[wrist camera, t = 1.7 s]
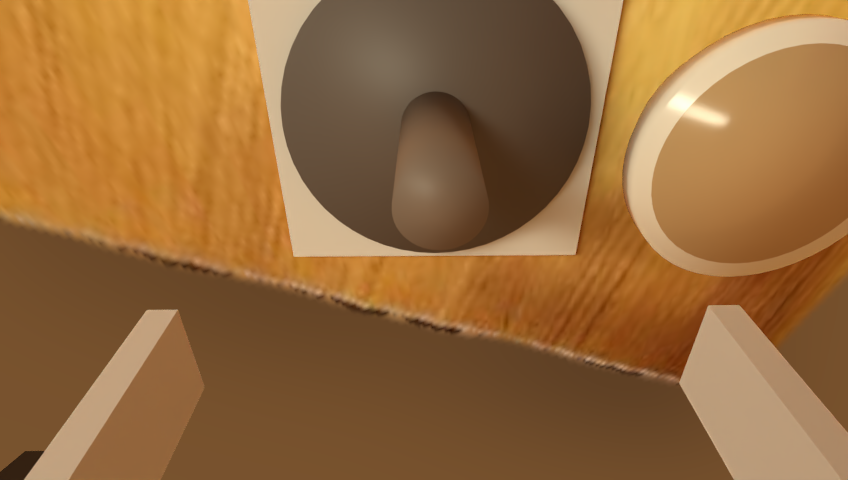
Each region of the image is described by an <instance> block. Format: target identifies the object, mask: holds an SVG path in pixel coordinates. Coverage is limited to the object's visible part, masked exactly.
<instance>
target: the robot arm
mask: <svg viewBox="0 0 848 480" xmlns="http://www.w3.org/2000/svg"><path fill="white" fill-rule="evenodd" d="M679 384H680V386H681V387H682V389H683V391H684V393H685V394H686V396H687V398H688V399H689V401H690V403H691V405H692V407H693V408H694V410H695V412H696V414H697V415H698V417H699V419H700V421H701V422H702V424H703V426H704V428H705V430H706V431H707V433H708V435H709V437H710V438H711V440H712V442H713V444H714V445H715V447H716V449H717V451H718V452H719V454H720V456H721V457H722V459H723V461H724V463H725V465H726V466H727V468H728V470H729V472H730V473H731V475H732V477H733V479H734V480H848V432H847V431H846V430H845V429H844V428H843V427H842V425H841V424H840V423H839V422H838V421H837V420H836V418H835V417H834V416H833V415H832V414H831V412H830V411H829V410H828V409H827V408H826V407H825V406H824V404H823V403H822V402H821V401H820V399H819V398H818V397H817V396H816V395H815V394H814V393H813V391H812V390H811V389H810V388H809V387H808V386H807V384H806V383H805V382H804V381H803V379H802V378H801V377H800V376H799V375H798V374H797V372H796V371H795V370H794V369H793V368H792V366H791V365H790V364H789V363H788V362H787V361H786V359H785V358H784V357H783V356H782V355H781V354H780V352H779V351H778V350H777V349H776V348H775V346H774V345H773V344H772V343H771V342H770V341H769V339H768V338H767V337H766V336H765V335H764V333H763V332H762V331H761V330H760V329H759V328H758V326H757V325H756V324H755V323H754V322H753V321H752V319H751V318H750V317H749V316H748V315H747V313H746V312H745V311H744V310H743V309H742V308H741V306H740V305H708V308H707V310H706V313H705V316H704V318H703V321H702V324H701V326H700V329H699V332H698V334H697V337H696V340H695V342H694V345H693V348H692V350H691V353H690V355H689V358H688V361H687V363H686V366H685V369H684V371H683V374H682V377H681V379H680V382H679ZM203 389H204V384H203V381H202V378H201V375H200V373H199V370H198V367H197V364H196V361H195V358H194V355H193V352H192V349H191V346H190V344H189V341H188V338H187V335H186V332H185V329H184V327H183V324H182V320H181V318H180V315H179V312H178V310H147V311H146V312H145V314H144V315H143V316H142V318H141V319H140V320H139V322H138V323H137V325H136V326H135V327H134V329H133V330H132V331H131V333H130V334H129V335H128V337H127V338H126V340H125V341H124V342H123V344H122V345H121V347H120V348H119V349H118V351H117V352H116V353H115V355H114V356H113V358H112V359H111V360H110V362H109V363H108V364H107V366H106V367H105V369H104V370H103V371H102V373H101V374H100V376H99V377H98V378H97V380H96V381H95V383H94V384H93V385H92V387H91V388H90V389H89V391H88V392H87V394H86V395H85V396H84V398H83V399H82V400H81V402H80V403H79V405H78V406H77V407H76V409H75V410H74V411H73V413H72V414H71V416H70V417H69V418H68V420H67V421H66V422H65V424H64V425H63V427H62V428H61V430H60V431H59V432H58V434H57V435H56V436H55V438H54V439H53V440H52V442H51V443H50V445H49V446H48V447H47V449H46V450H45V451H25V452H24V453H23V454H21V455H20V456H19V457H18V458H17V459H15V460H14V461H13V462H12V463H10V464H9V465H8V466H7V467H6V468H4V469H3V470H2V471H1V472H0V480H160V479H161V477H162V476H163V473H164V471H165V469H166V467H167V465H168V463H169V461H170V459H171V457H172V455H173V452H174V450H175V448H176V446H177V444H178V442H179V440H180V438H181V436H182V433H183V431H184V429H185V427H186V425H187V423H188V421H189V419H190V417H191V415H192V412H193V410H194V408H195V406H196V404H197V402H198V400H199V398H200V396H201V394H202V391H203Z"/></svg>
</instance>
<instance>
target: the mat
mask: <svg viewBox="0 0 848 480" xmlns="http://www.w3.org/2000/svg"><path fill="white" fill-rule="evenodd" d="M320 1H321V0H248V3H249V9H250V14H251V20H252V26H253V31H254V37H255V42H256V48H257V53H258V59H259V65H260V70H261V76H262V81H263V87H264V93H265V98H266V104H267V109H268V115H269V121H270V126H271V132H272V137H273V143H274V148H275V154H276V160H277V165H278V171H279V176H280V182H281V188H282V193H283V199H284V204H285V210H286V216H287V221H288V227H289V232H290V238H291V244H292V249H293V255H294V257H304V256H479V255H576V250H577V244H578V239H579V234H580V228H581V223H582V218H583V212H584V207H585V202H586V196H587V191H588V186H589V180H590V175H591V170H592V165H593V159H594V154H595V149H596V143H597V138H598V133H599V127H600V122H601V117H602V111H603V106H604V101H605V95H606V90H607V85H608V80H609V74H610V69H611V64H612V58H613V53H614V48H615V42H616V37H617V32H618V26H619V21H620V16H621V10H622V5H623V0H553V1H554V2H555V3H556V4H557V5H558V6H559V7H560V9H561V10H562V12H563V13H564V15H565V16H566V18H567V19H568V21H569V22H570V23H571V25H572V27H573V29H574V31H575V33H576V35H577V37H578V39H579V42H580V44H581V46H582V50H583V53H584V56H585V59H586V62H587V66H588V72H589V79H590V85H591V111H590V120H589V127H588V131H587V135H586V139H585V143H584V146H583V149H582V151H581V154H580V156H579V159H578V162H577V164H576V165H575V167H574V169H573V171H572V173H571V175H570V177H569V178H568V180H567V181H566V183H565V184H564V186H563V187H562V188H561V190H560V191H559V193H558V194H557V195H556V196H555V197H554V198H553V200H552V201H551V202H550V203H549V204H548V205H547V206H546V207H545V208H544V209H543V210H542V211H541V212H540V213H539V214H537V215H536V216H535V217H534V218H533V219H532V220H530V221H529V222H527V223H526V224H524V225H523V226H522V227H520V228H519V229H517V230H515V231H514V232H512V233H510V234H508V235H506V236H504V237H503V238H500V239H498V240H495V241H493V242H490V243H488V244H485V245H482V246H478V247H475V248H471V249H467V250H461V251H455V252H445V253H422V252H413V251H407V250H400V249H397V248H393V247H389V246H386V245H383V244H380V243H378V242H375V241H373V240H370V239H368V238H366V237H364V236H362V235H360V234H358V233H356V232H355V231H353V230H351V229H350V228H348V227H347V226H345V225H344V224H343V223H341V222H340V221H338V220H337V219H336V218H335V217H334V216H333V215H331V214H330V213H329V212H328V211H327V210H326V209H325V208H324V207H323V206H322V205H321V204H320V203H319V202H318V201H317V199H316V198H315V197H314V196H313V195H312V193H311V192H310V191H309V189H308V188H307V186H306V185H305V183H304V182H303V181H302V179H301V177H300V175H299V173H298V171H297V169H296V167H295V166H294V164H293V161H292V158H291V156H290V153H289V150H288V148H287V144H286V140H285V136H284V131H283V127H282V117H281V86H282V80H283V75H284V69H285V65H286V62H287V59H288V56H289V53H290V49H291V46H292V44H293V42H294V40H295V38H296V36H297V34H298V32H299V30H300V28H301V26H302V25H303V23H304V22H305V20H306V19H307V17H308V16H309V14H310V13H311V12H312V10H313V9H314V7H315V6H316V5H317V4H318V3H319V2H320Z"/></svg>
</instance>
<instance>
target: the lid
mask: <svg viewBox="0 0 848 480" xmlns="http://www.w3.org/2000/svg"><path fill="white" fill-rule="evenodd" d="M590 111H591V85H590V79H589V72H588V66H587V62H586V59H585V56H584V53H583V50H582V46H581V44H580V42H579V39H578V37H577V35H576V33H575V31H574V29H573V27H572V25H571V23H570V22H569V21H568V19H567V18H566V16H565V15H564V13H563V12H562V10H561V9H560V7H559V6H558V5H557V4H556V3H555V2H554V1H553V0H321V1H320V2H319V3H318V4H317V5H316V6H315V7H314V9H313V10H312V12H311V13H310V14H309V16H308V17H307V19H306V20H305V22H304V23H303V25H302V26H301V28H300V30H299V32H298V34H297V36H296V38H295V40H294V42H293V44H292V46H291V49H290V53H289V56H288V59H287V62H286V65H285V69H284V75H283V80H282V86H281V117H282V127H283V131H284V136H285V140H286V144H287V148H288V150H289V153H290V156H291V158H292V161H293V164H294V166H295V167H296V169H297V171H298V173H299V175H300V177H301V179H302V181H303V182H304V183H305V185H306V186H307V188H308V189H309V191H310V192H311V193H312V195H313V196H314V197H315V198H316V199H317V201H318V202H319V203H320V204H321V205H322V206H323V207H324V208H325V209H326V210H327V211H328V212H329V213H330V214H331V215H333V216H334V217H335V218H336V219H337V220H338V221H340V222H341V223H343V224H344V225H345V226H347V227H348V228H350V229H351V230H353V231H355V232H356V233H358V234H360V235H362V236H364V237H366V238H368V239H370V240H373V241H375V242H378V243H380V244H383V245H386V246H389V247H393V248H397V249H400V250H407V251H413V252H422V253H445V252H455V251H461V250H467V249H471V248H475V247H478V246H482V245H485V244H488V243H490V242H493V241H495V240H498V239H500V238H503V237H504V236H506V235H508V234H510V233H512V232H514V231H515V230H517V229H519V228H520V227H522V226H523V225H524V224H526V223H527V222H529V221H530V220H532V219H533V218H534V217H535V216H536V215H537V214H539V213H540V212H541V211H542V210H543V209H544V208H545V207H546V206H547V205H548V204H549V203H550V202H551V201H552V200H553V198H554V197H555V196H556V195H557V194H558V193H559V191H560V190H561V188H562V187H563V186H564V184H565V183H566V181H567V180H568V178H569V177H570V175H571V173H572V171H573V169H574V167H575V165H576V164H577V162H578V159H579V156H580V154H581V151H582V149H583V146H584V143H585V139H586V135H587V131H588V127H589V120H590Z"/></svg>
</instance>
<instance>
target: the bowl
mask: <svg viewBox="0 0 848 480" xmlns="http://www.w3.org/2000/svg"><path fill="white" fill-rule="evenodd" d="M622 186H623V193H624V199H625V203H626V206H627V209H628V212H629V214H630V216H631V218H632V220H633V221H634V223H635V225H636V226H637V228H638V229H639V230H640V232H641V233H642V235H643V236H644V238H645V239H646V240H647V242H648V243H649V244H650V245H651V247H652V248H653V249H654V250H655V251H656V252H657V253H658V254H660V255H661V256H662V257H663V258H665V259H666V260H668V261H669V262H671V263H672V264H674V265H676V266H678V267H681V268H683V269H685V270H688V271H692V272H695V273H698V274H704V275H710V276H724V277H733V276H746V275H753V274H759V273H764V272H768V271H772V270H776V269H779V268H782V267H785V266H788V265H791V264H794V263H796V262H799V261H801V260H803V259H805V258H808V257H810V256H812V255H814V254H816V253H818V252H820V251H821V250H823V249H825V248H827V247H829V246H830V245H832V244H833V243H835V242H837V241H838V240H840V239H841V238H843V237H844V236H846V235H847V234H848V20H845V19H840V18H836V17H831V16H827V15H813V14H802V15H789V16H783V17H778V18H773V19H768V20H765V21H762V22H759V23H756V24H753V25H750V26H746V27H744V28H742V29H740V30H738V31H735V32H733V33H731V34H729V35H727V36H725V37H723V38H721V39H720V40H718V41H716V42H714V43H713V44H711V45H709V46H708V47H706V48H705V49H703V50H702V51H701V52H699V53H698V54H696V55H695V56H693V57H692V58H691V59H689V60H688V61H687V62H685V63H684V64H682V65H681V66H680V67H679V68H678V69H677V70H675V71H674V72H673V73H672V74H671V75H670V76H669V77H668V78H667V79H666V80H665V81H664V82H663V83H662V84H661V86H660V87H659V88H658V89H657V90H656V92H655V93H654V94H653V96H652V97H651V98H650V100H649V101H648V103H647V104H646V106H645V108H644V110H643V111H642V113H641V115H640V117H639V119H638V122H637V124H636V126H635V128H634V131H633V133H632V135H631V138H630V140H629V144H628V147H627V150H626V154H625V159H624V165H623V183H622Z"/></svg>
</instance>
